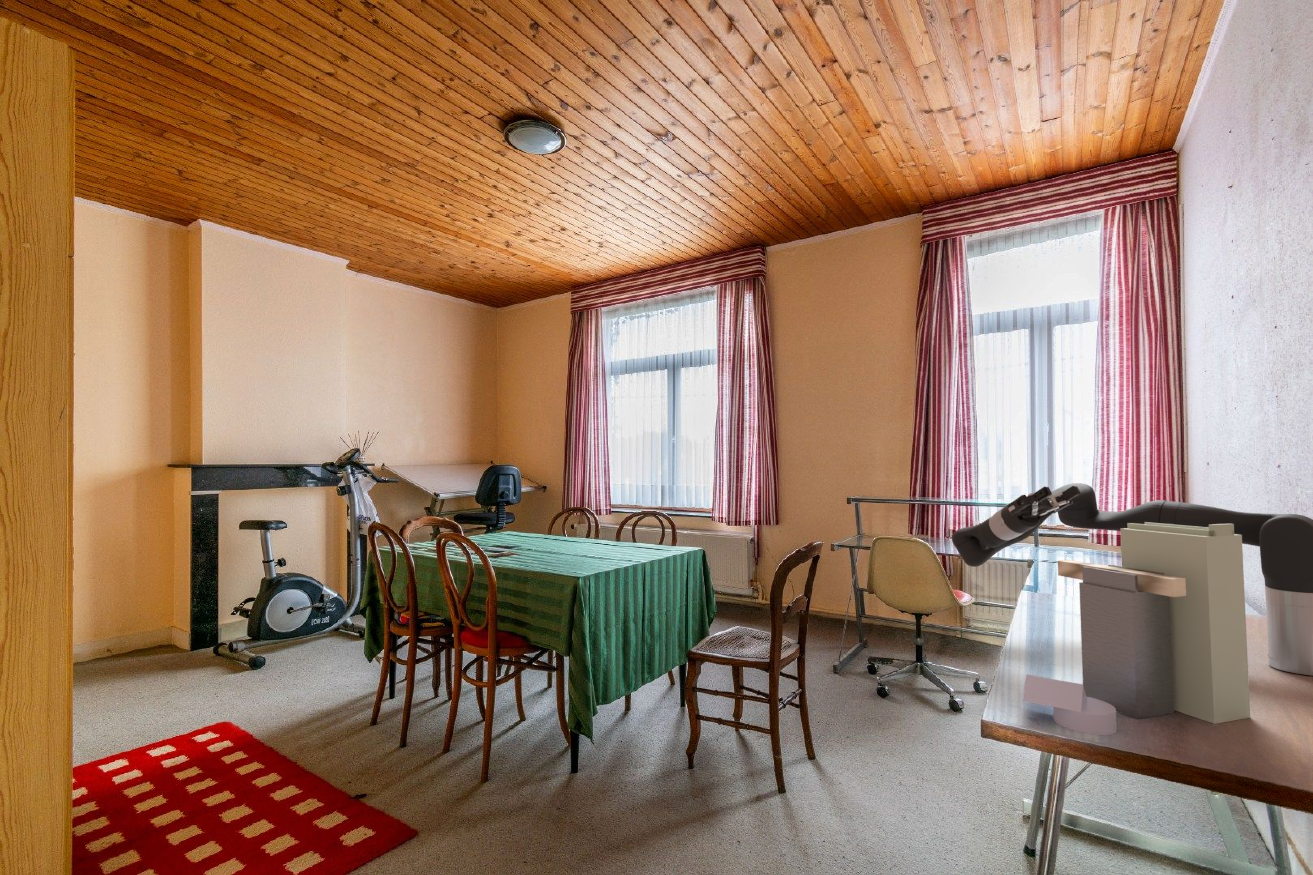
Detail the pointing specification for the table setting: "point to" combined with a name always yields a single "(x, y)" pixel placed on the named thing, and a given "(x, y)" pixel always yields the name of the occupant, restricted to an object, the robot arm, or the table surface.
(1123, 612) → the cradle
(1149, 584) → the rail
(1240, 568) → the pale green tall block
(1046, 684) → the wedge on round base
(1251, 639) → the table surface
